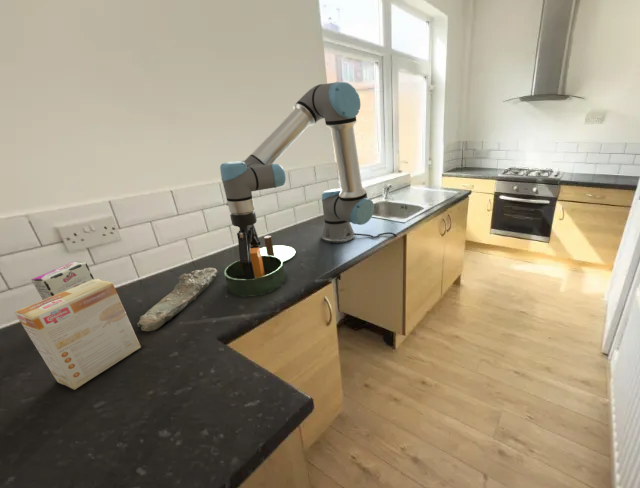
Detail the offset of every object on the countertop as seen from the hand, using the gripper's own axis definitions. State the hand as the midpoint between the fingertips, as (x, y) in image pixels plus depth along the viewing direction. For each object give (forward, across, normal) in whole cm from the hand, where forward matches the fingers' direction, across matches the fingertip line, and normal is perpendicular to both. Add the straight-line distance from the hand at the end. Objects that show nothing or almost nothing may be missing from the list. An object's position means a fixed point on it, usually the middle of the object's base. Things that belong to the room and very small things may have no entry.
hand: (254, 270), depth 111 cm
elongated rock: (+5, +6, -22) cm, 23 cm away
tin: (+5, 0, 0) cm, 5 cm away
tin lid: (+4, -22, +2) cm, 23 cm away
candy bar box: (+6, +11, -48) cm, 49 cm away
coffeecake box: (+6, +34, -31) cm, 46 cm away
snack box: (+4, 0, 0) cm, 4 cm away
